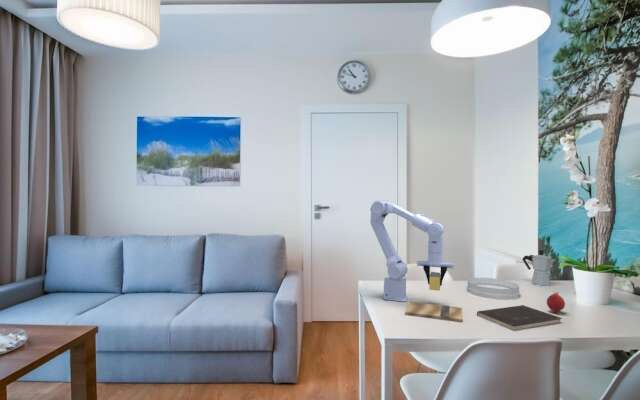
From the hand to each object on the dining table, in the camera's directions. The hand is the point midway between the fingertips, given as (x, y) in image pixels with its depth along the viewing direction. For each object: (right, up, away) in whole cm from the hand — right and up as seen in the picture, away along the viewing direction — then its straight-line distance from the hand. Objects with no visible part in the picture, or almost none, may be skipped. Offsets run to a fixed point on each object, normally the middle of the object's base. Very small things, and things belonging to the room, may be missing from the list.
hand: (434, 284), depth 141 cm
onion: (+44, -9, -9) cm, 46 cm away
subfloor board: (-4, -8, -10) cm, 14 cm away
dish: (+34, -9, +19) cm, 40 cm away
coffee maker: (+66, -9, +36) cm, 76 cm away
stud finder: (0, -2, 0) cm, 2 cm away
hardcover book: (+25, -9, -16) cm, 31 cm away
